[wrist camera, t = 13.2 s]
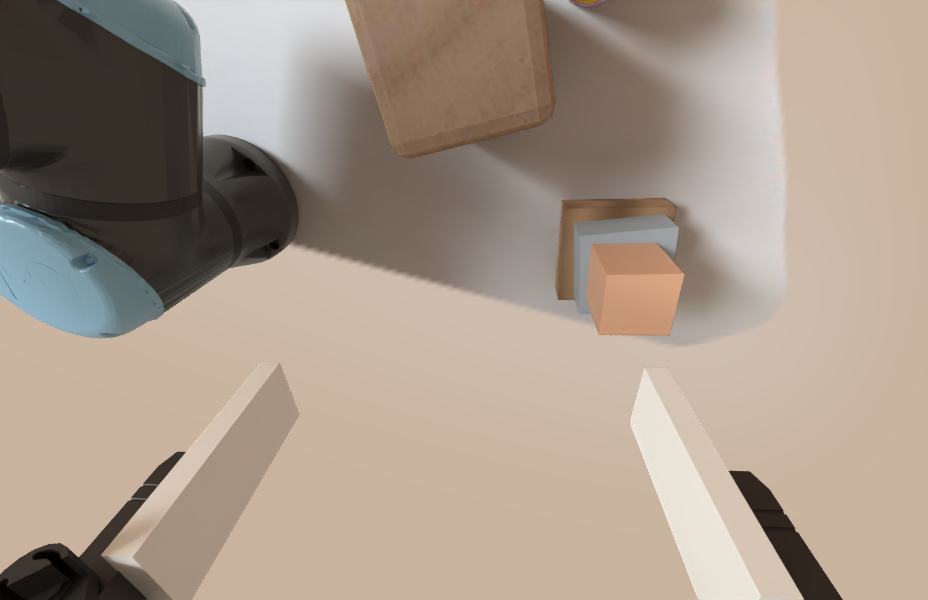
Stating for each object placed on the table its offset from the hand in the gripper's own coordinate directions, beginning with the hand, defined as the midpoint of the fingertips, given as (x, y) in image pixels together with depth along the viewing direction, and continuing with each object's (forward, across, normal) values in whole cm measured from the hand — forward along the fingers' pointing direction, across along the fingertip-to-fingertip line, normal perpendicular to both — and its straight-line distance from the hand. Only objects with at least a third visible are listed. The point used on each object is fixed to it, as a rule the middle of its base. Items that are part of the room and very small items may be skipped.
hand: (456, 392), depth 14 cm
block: (+33, 0, +11) cm, 35 cm away
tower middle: (+29, +15, -8) cm, 34 cm away
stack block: (+25, +14, -8) cm, 30 cm away
